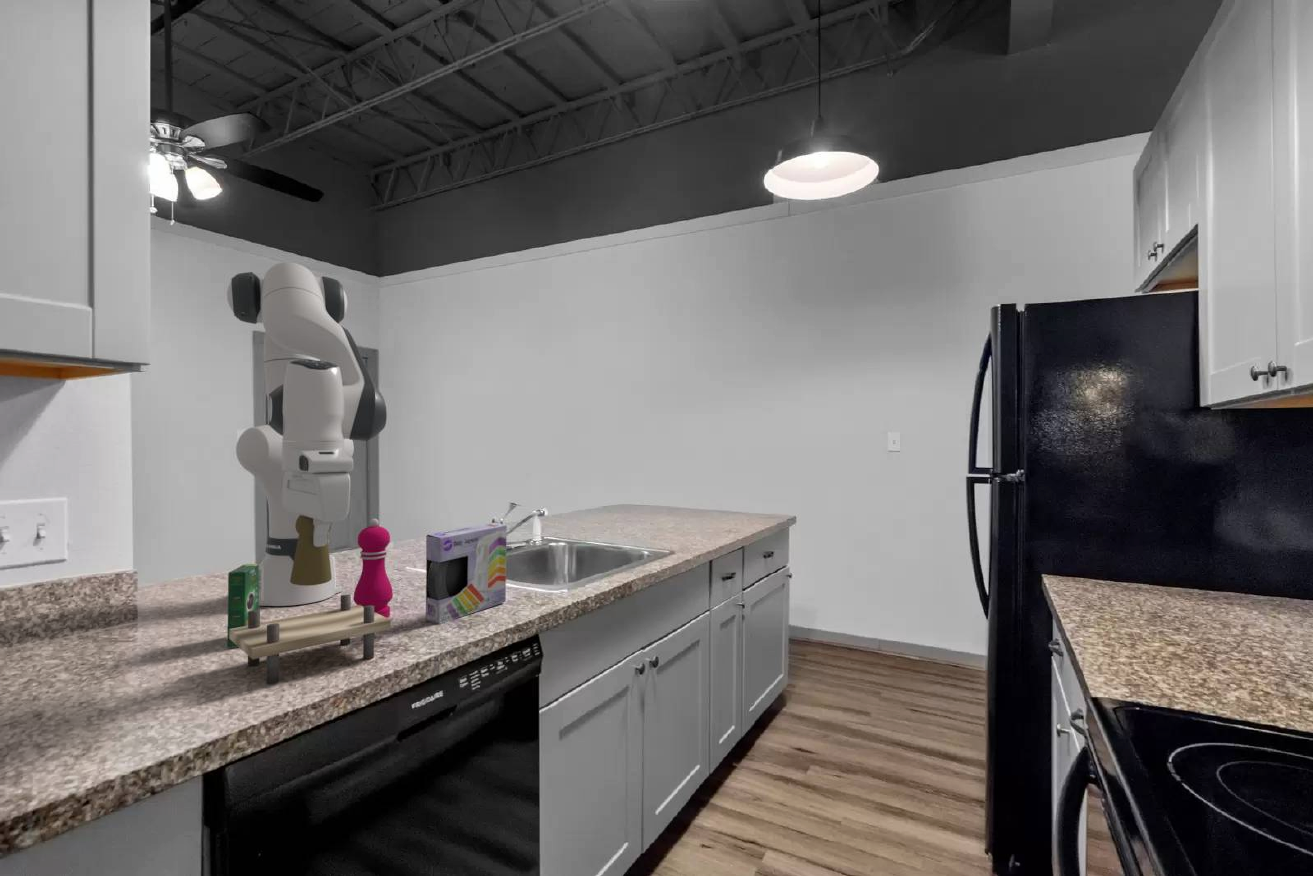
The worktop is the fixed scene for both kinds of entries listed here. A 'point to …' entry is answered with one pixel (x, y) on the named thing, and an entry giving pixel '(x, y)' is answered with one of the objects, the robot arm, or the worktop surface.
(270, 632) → the spice riser
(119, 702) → the worktop surface
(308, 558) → the cork
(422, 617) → the worktop surface
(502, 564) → the cake pan box
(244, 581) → the coffee box
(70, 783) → the worktop surface
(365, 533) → the pepper mill
